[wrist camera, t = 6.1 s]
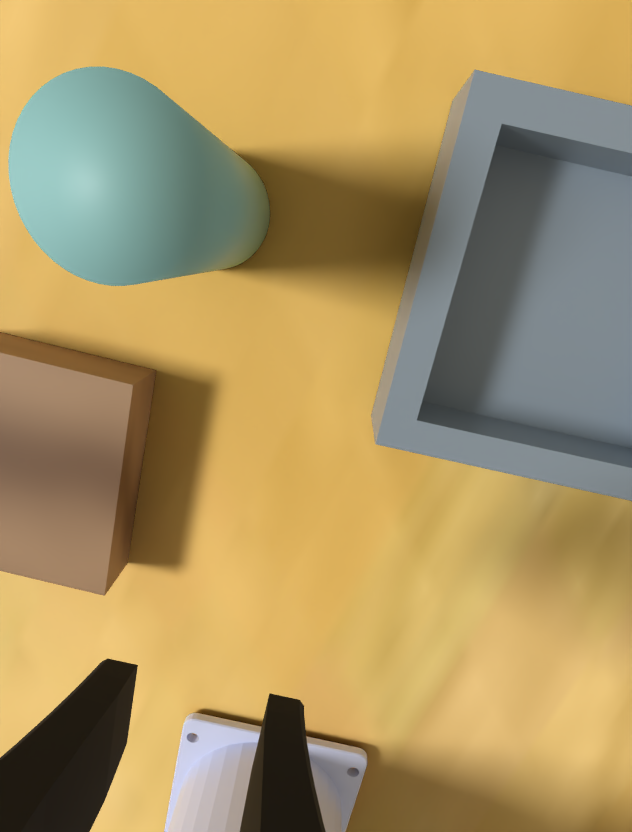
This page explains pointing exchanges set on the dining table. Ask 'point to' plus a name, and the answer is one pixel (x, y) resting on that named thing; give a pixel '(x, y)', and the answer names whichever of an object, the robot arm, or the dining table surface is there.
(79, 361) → the tan cardboard box
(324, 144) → the dining table surface
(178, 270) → the dowel
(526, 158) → the tray
